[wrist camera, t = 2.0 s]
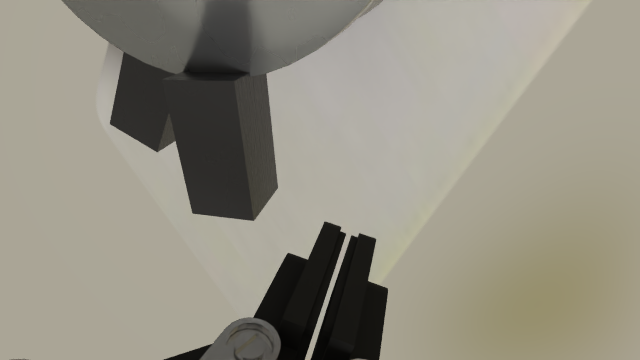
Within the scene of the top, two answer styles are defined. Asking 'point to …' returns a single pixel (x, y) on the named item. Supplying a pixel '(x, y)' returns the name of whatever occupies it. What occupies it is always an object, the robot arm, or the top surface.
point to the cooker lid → (221, 80)
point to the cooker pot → (148, 102)
